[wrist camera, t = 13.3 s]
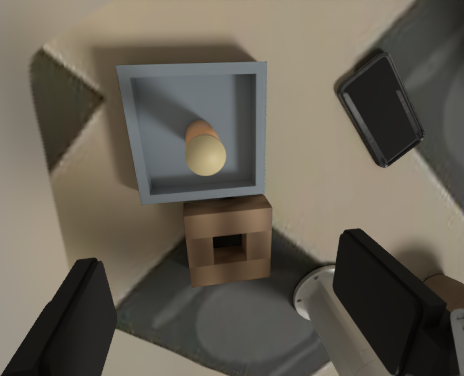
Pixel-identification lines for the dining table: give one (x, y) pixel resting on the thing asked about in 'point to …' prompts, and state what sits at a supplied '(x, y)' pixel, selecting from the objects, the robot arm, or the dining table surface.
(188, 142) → the peg
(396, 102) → the phone
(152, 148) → the tray
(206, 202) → the pin block
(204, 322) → the dining table surface
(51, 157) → the dining table surface
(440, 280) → the flower pot
